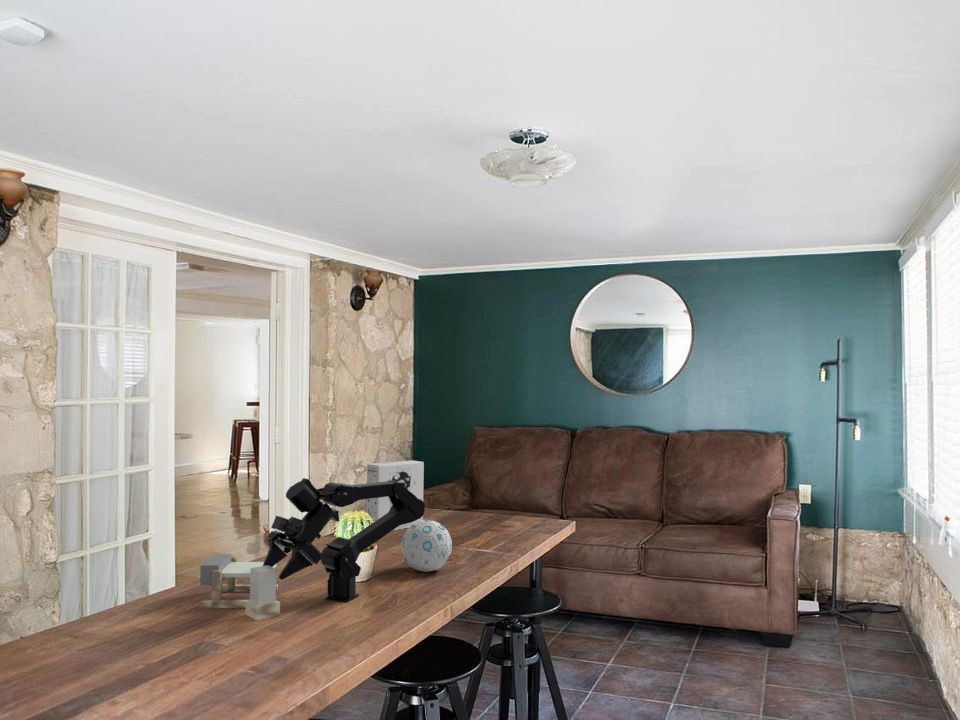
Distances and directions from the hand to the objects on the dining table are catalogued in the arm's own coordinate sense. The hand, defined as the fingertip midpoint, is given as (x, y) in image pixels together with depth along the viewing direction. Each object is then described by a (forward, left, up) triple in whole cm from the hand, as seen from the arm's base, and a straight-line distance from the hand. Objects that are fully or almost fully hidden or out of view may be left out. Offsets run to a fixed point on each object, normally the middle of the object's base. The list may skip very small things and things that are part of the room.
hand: (271, 574), depth 187 cm
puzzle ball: (-17, -53, -10) cm, 57 cm away
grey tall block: (+1, +2, -6) cm, 6 cm away
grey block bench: (+15, -7, -9) cm, 19 cm away
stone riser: (+1, +2, -9) cm, 10 cm away
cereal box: (+22, -107, -10) cm, 110 cm away
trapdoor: (+15, -7, -4) cm, 17 cm away
